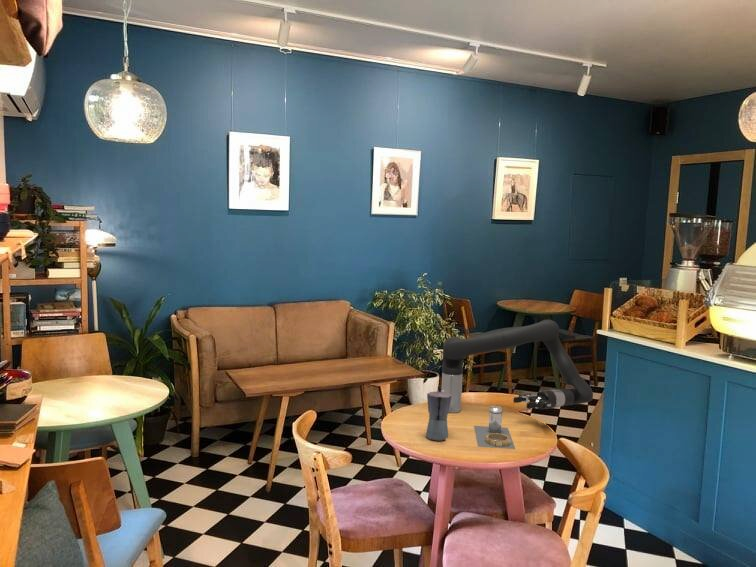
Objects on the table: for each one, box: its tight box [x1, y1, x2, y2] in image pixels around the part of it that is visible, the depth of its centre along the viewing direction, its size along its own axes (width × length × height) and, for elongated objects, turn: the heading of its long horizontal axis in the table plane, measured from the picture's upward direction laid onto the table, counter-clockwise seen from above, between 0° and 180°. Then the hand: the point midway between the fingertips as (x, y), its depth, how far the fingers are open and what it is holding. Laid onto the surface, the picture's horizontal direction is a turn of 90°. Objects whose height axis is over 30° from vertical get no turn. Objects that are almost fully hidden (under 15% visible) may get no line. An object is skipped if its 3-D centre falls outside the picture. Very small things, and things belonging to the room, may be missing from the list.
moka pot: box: [425, 386, 452, 441], centre depth 231 cm, size 10×15×20 cm, turn 179°
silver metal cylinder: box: [488, 405, 503, 433], centre depth 238 cm, size 5×5×10 cm
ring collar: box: [485, 433, 512, 447], centre depth 227 cm, size 9×9×2 cm
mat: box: [473, 425, 516, 450], centre depth 233 cm, size 14×24×1 cm, turn 174°
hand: (520, 403), depth 243 cm, fingers open, 8 cm apart
